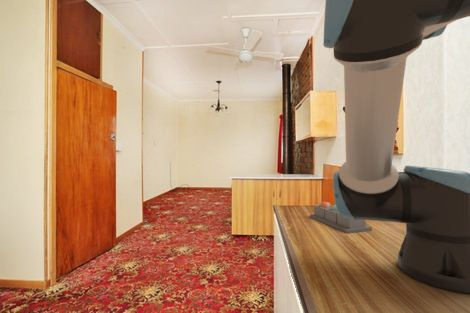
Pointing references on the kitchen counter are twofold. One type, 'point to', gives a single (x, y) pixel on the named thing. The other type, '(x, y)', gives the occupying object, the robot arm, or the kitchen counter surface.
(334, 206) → the teal button
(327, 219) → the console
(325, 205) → the salmon button
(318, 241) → the kitchen counter surface
